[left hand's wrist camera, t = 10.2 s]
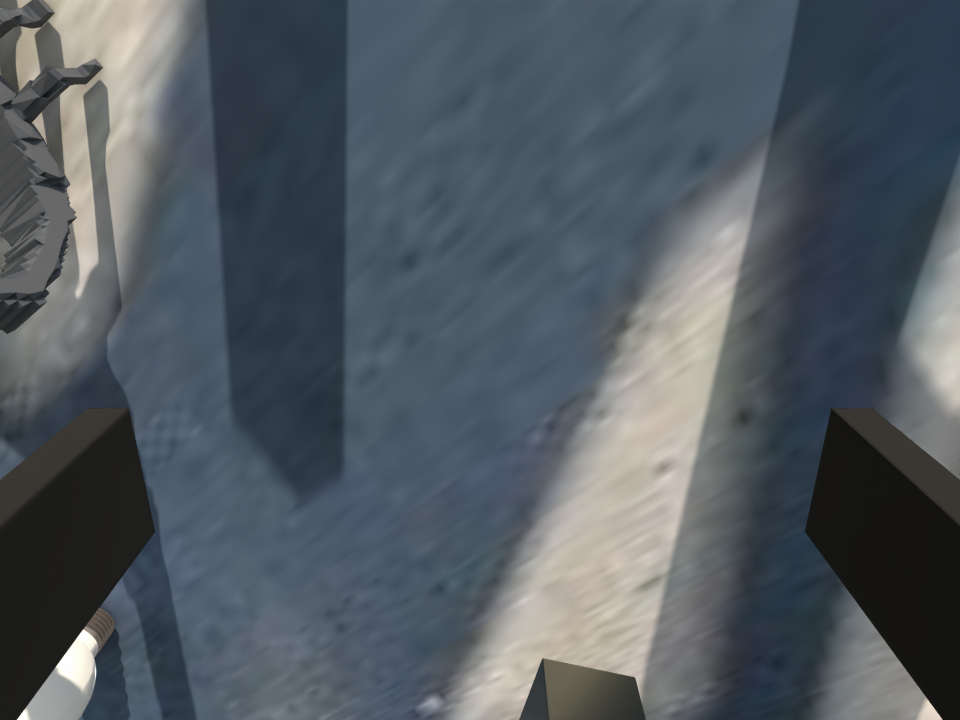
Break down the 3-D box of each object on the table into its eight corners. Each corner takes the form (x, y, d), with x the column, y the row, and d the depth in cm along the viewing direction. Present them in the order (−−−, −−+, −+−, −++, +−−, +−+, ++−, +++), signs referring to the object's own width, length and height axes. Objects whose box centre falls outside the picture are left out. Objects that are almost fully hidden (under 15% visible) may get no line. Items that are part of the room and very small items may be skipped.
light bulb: (115, 585, 52) (26, 705, 42) (143, 651, 55) (65, 780, 45) (31, 594, 53) (-77, 716, 42) (62, 659, 55) (-32, 790, 45)
